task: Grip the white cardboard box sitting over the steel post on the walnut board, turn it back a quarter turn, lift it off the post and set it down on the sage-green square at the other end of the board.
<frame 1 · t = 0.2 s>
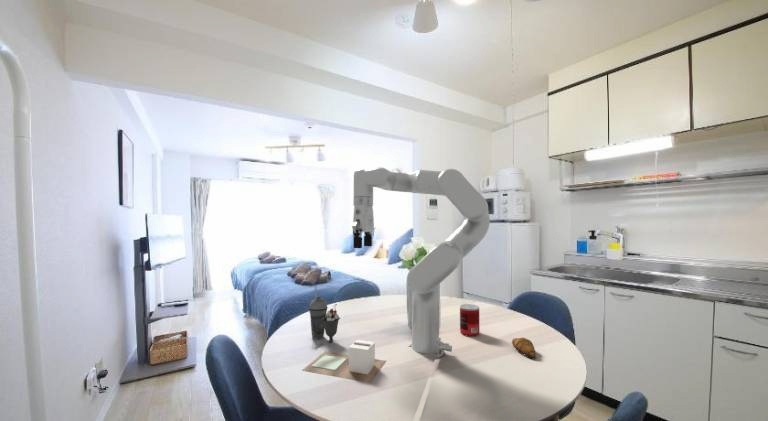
hand: (362, 247, 115), 36 cm above the table, tool pointing down, fingers open, 9 cm apart
sundae: (331, 346, 112), on the table
white cardboard box: (362, 356, 92), on the board, point 5 cm above the table
board: (345, 370, 94), on the table
post: (362, 358, 92), on the board, point 4 cm above the table
beverage cup: (317, 337, 120), on the table
croissant: (523, 352, 108), on the table
canned food: (469, 333, 125), on the table
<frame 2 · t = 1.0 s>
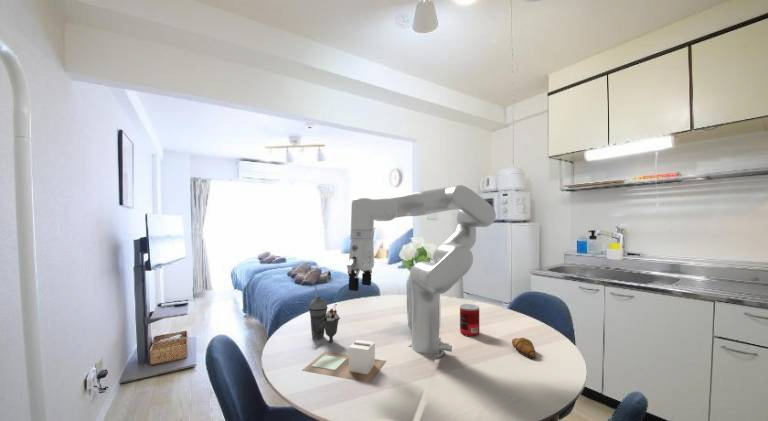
hand: (360, 287, 100), 24 cm above the table, tool pointing down, fingers open, 9 cm apart
nothing on the table moved.
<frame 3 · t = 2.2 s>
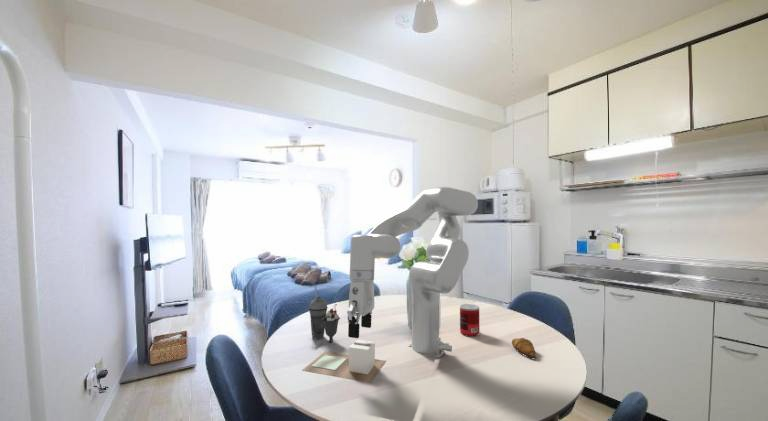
hand: (360, 332, 92), 12 cm above the table, tool pointing down, fingers open, 9 cm apart
nothing on the table moved.
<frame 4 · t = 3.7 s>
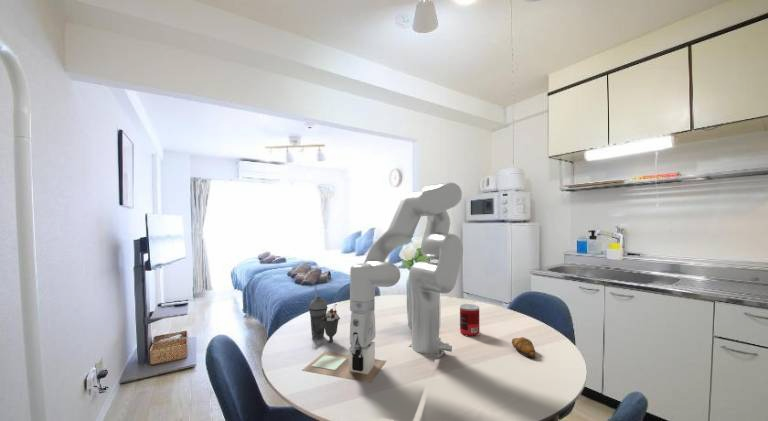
hand: (362, 364, 92), 3 cm above the table, tool pointing down, fingers closed on white cardboard box, 6 cm apart
white cardboard box: (362, 356, 92), on the board, point 5 cm above the table, touching gripper
everything else where it was.
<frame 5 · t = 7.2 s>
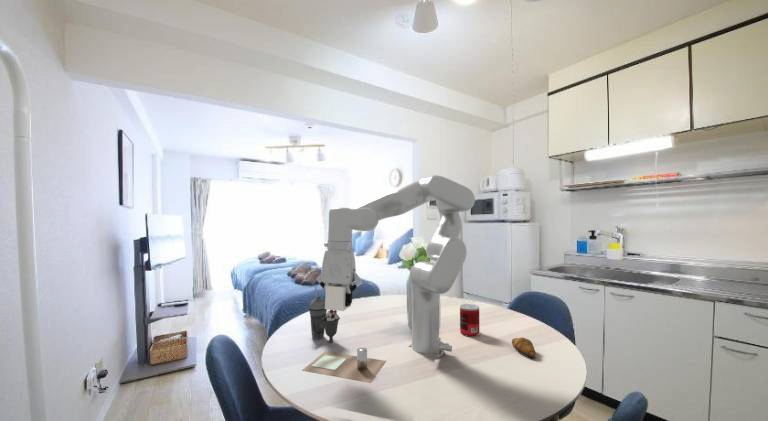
hand: (338, 304, 95), 20 cm above the table, tool pointing down, fingers closed on white cardboard box, 6 cm apart
white cardboard box: (338, 295, 95), point 23 cm above the table, touching gripper
everything else where it was.
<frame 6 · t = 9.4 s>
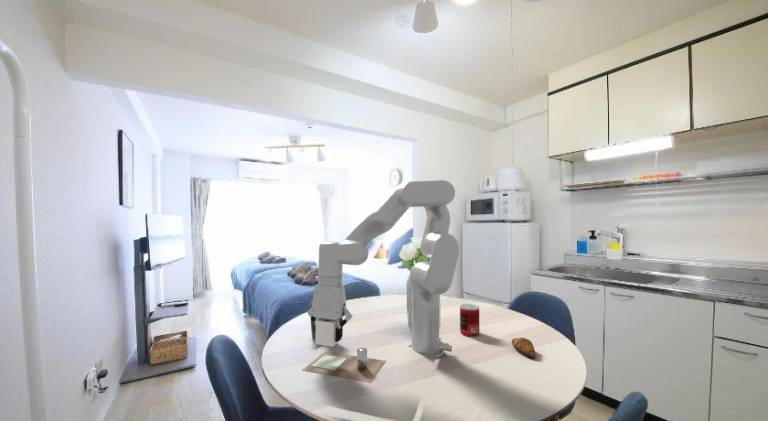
hand: (328, 338, 96), 9 cm above the table, tool pointing down, fingers closed on white cardboard box, 6 cm apart
white cardboard box: (328, 330, 96), point 12 cm above the table, touching gripper
everything else where it was.
when the fingers open (4 cm above the table, at t = 11.0 s): white cardboard box stays where it is, resting on board.
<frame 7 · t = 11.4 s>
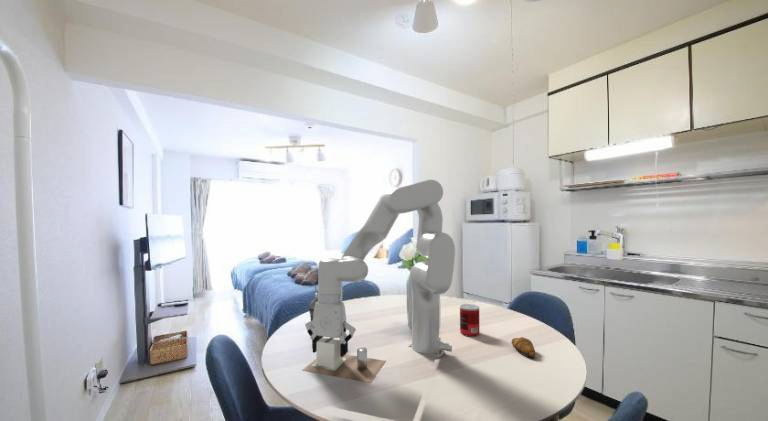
hand: (329, 353, 95), 4 cm above the table, tool pointing down, fingers open, 9 cm apart
white cardboard box: (329, 350, 95), on the board, point 5 cm above the table
everything else where it was.
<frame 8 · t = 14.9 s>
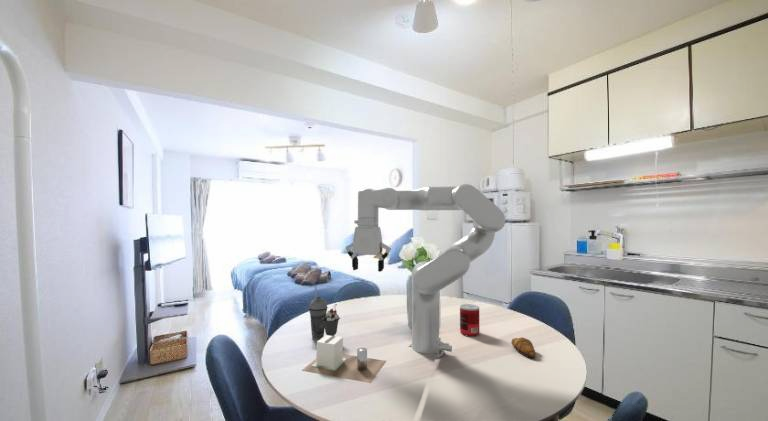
hand: (367, 270, 110), 28 cm above the table, tool pointing down, fingers open, 9 cm apart
nothing on the table moved.
at the end: white cardboard box 0.1 cm from the target spot on the board, point 5.3 cm above the board's base; white cardboard box tilted 0°; the gripper is holding nothing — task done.
